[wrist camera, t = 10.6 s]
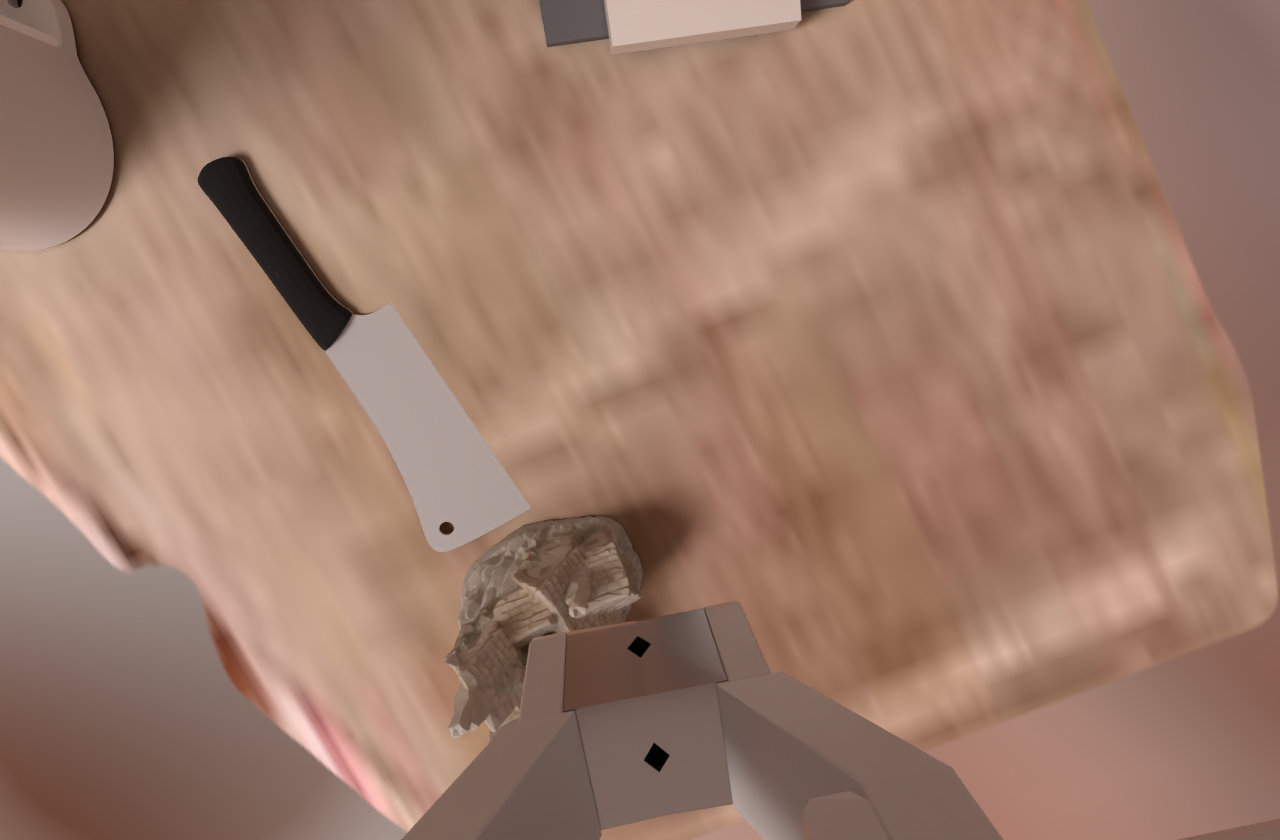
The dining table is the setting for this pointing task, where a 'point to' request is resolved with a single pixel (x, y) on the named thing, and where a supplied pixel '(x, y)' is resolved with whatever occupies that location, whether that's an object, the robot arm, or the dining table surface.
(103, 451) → the dining table surface
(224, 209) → the kitchen cleaver
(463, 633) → the jagged grey rock
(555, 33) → the mat
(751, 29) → the tile
